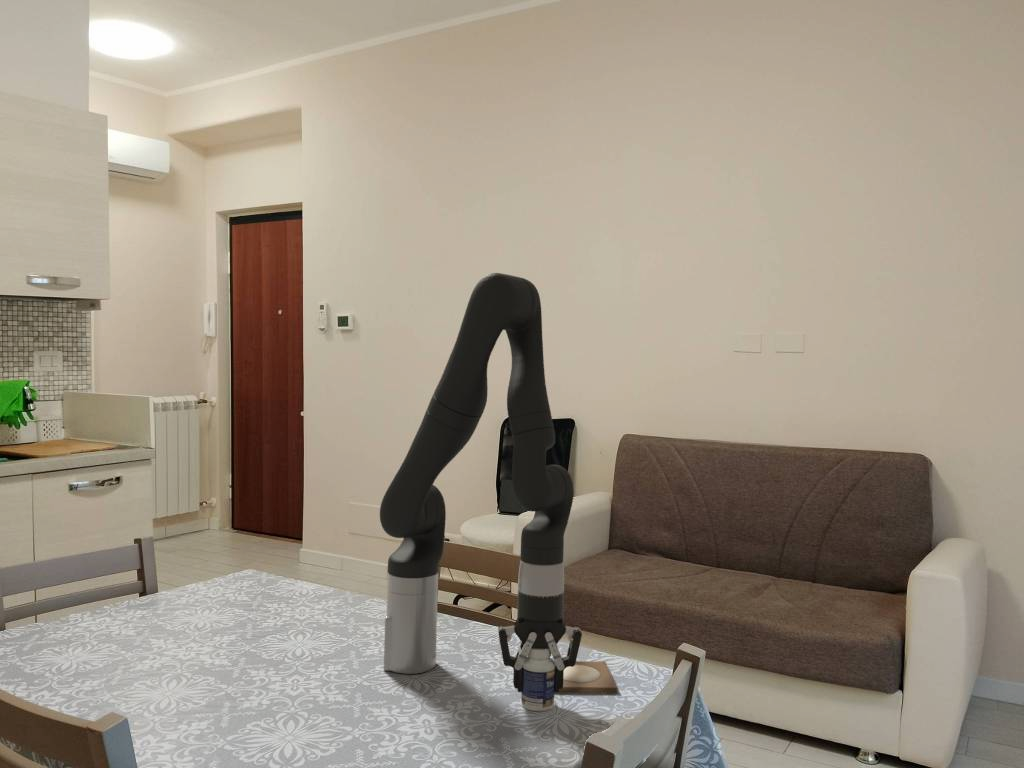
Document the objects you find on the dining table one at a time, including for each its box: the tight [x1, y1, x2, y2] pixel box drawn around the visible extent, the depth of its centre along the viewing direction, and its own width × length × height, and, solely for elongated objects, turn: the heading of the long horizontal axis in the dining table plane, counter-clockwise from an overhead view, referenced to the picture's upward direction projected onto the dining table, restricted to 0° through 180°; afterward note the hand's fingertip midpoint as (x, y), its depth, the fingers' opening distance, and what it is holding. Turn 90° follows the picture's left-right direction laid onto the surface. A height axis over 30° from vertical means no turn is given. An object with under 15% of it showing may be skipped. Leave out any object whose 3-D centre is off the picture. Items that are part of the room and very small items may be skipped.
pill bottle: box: [520, 649, 555, 712], centre depth 131 cm, size 5×5×10 cm
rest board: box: [554, 660, 618, 694], centre depth 142 cm, size 12×12×1 cm
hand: (538, 690), depth 131 cm, fingers closed on pill bottle, 5 cm apart
